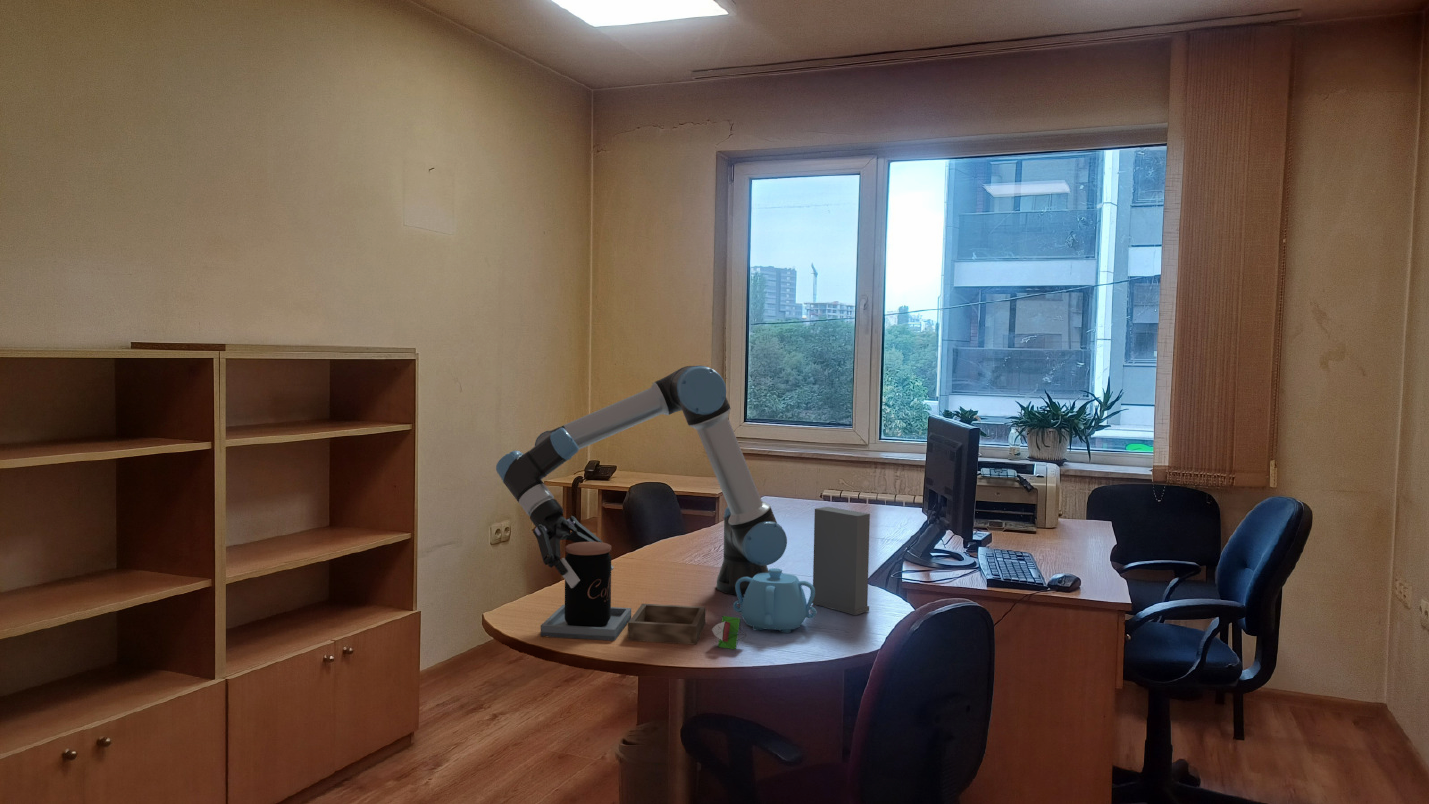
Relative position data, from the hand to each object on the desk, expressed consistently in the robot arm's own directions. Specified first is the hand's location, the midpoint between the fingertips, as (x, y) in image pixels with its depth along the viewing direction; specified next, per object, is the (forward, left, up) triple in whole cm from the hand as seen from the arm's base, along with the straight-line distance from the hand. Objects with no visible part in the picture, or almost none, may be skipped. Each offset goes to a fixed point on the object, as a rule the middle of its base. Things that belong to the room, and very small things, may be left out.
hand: (593, 578), depth 200 cm
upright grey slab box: (-58, -28, -12) cm, 65 cm away
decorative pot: (-42, -10, -12) cm, 44 cm away
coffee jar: (+1, -1, -11) cm, 11 cm away
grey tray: (+1, -1, -12) cm, 12 cm away
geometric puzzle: (-33, +7, -12) cm, 35 cm away
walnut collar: (-18, -1, -12) cm, 21 cm away
